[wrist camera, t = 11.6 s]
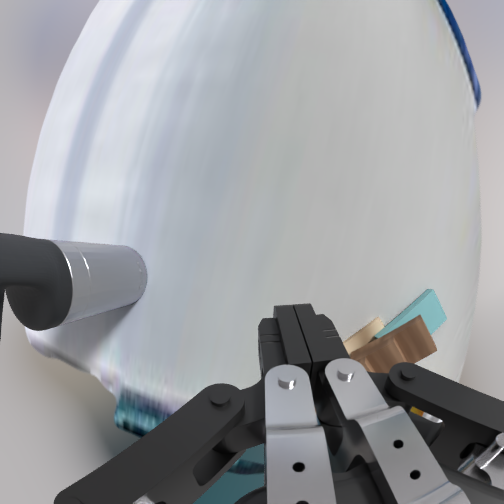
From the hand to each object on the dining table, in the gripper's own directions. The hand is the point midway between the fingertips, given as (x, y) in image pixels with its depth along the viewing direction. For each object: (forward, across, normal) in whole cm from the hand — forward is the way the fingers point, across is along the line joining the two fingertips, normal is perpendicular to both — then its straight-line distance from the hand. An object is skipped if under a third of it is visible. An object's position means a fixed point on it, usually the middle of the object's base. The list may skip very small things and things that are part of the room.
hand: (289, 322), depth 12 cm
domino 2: (+17, -14, +21) cm, 31 cm away
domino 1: (+17, -18, +19) cm, 31 cm away
